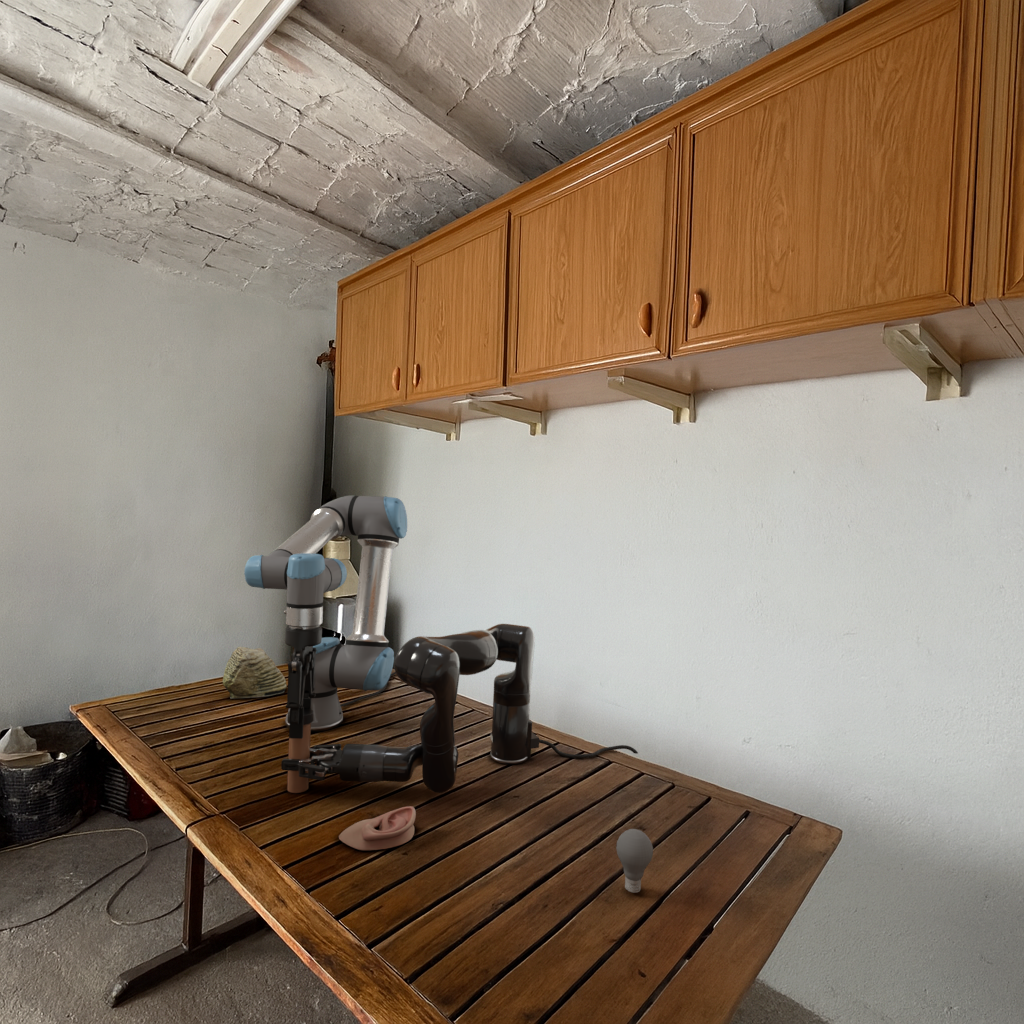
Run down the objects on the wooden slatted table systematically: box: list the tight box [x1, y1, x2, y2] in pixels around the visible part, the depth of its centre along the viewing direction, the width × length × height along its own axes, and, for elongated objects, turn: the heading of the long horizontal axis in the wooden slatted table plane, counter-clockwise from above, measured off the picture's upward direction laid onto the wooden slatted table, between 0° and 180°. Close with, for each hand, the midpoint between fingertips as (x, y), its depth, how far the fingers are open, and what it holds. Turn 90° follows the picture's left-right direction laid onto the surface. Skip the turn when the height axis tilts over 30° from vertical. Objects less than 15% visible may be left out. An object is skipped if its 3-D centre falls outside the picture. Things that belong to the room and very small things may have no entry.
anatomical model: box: [338, 805, 417, 851], centre depth 119 cm, size 13×4×12 cm
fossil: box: [222, 646, 288, 699], centre depth 198 cm, size 9×18×15 cm, turn 132°
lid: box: [287, 708, 313, 725], centre depth 137 cm, size 5×5×2 cm
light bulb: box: [615, 828, 654, 894], centre depth 106 cm, size 6×6×10 cm
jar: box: [286, 723, 312, 794], centre depth 137 cm, size 4×4×16 cm
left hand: (299, 732), depth 137 cm, fingers closed on lid, 5 cm apart
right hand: (286, 759), depth 137 cm, fingers closed on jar, 4 cm apart
